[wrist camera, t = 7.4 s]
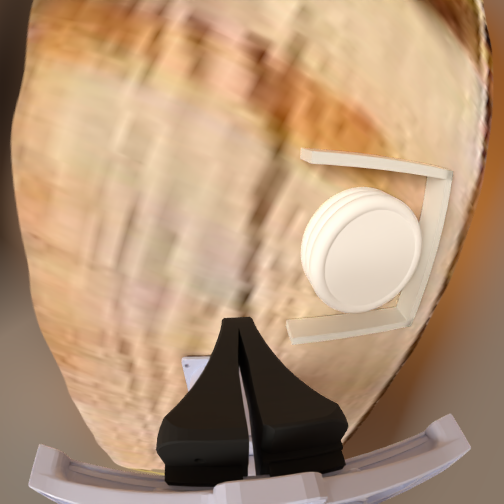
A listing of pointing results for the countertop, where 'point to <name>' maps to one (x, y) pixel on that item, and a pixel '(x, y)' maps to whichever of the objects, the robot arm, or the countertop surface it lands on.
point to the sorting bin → (414, 290)
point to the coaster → (360, 249)
